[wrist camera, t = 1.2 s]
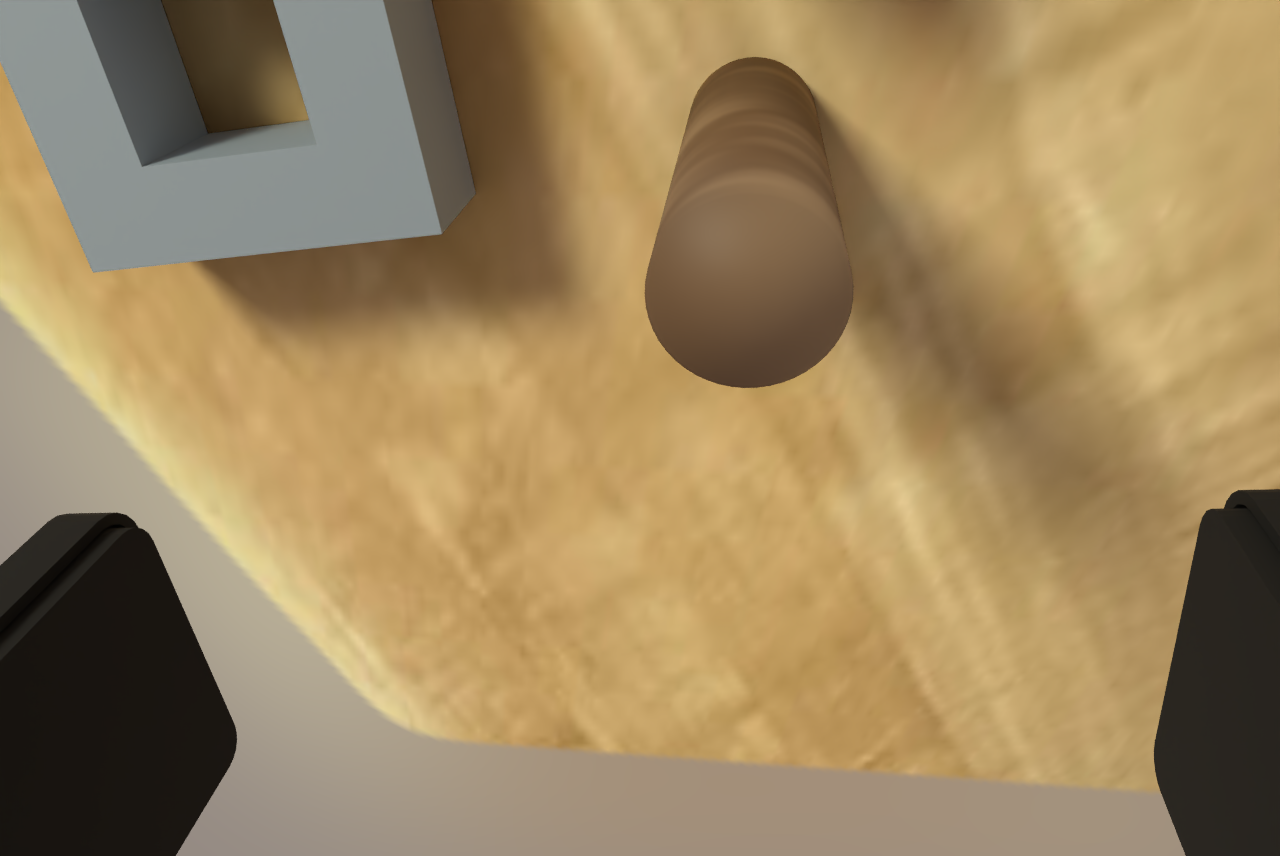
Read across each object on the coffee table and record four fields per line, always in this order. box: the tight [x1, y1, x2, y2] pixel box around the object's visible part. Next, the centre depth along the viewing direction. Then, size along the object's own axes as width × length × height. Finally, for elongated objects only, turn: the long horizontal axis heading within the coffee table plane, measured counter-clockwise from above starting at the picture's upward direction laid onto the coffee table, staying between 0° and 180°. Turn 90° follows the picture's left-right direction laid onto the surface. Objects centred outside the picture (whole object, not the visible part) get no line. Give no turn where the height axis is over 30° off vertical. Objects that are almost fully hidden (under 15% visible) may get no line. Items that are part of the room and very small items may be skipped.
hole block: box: [0, 0, 476, 272], centre depth 25 cm, size 10×10×4 cm
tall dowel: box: [645, 57, 853, 388], centre depth 21 cm, size 3×3×12 cm
